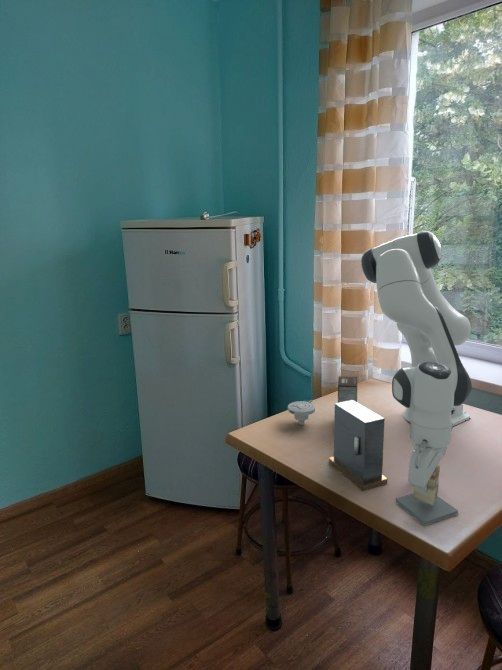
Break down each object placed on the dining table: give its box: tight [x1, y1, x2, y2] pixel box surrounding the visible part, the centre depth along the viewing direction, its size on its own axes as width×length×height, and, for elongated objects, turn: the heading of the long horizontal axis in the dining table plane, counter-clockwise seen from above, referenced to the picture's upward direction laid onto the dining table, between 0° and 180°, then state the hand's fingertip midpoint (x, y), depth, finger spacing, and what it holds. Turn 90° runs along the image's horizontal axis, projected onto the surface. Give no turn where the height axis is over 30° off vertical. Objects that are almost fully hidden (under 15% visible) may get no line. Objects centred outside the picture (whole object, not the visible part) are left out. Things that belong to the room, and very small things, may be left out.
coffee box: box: [337, 376, 358, 403], centre depth 156 cm, size 9×6×16 cm
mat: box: [395, 492, 459, 526], centre depth 111 cm, size 10×10×1 cm
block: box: [412, 464, 441, 505], centre depth 110 cm, size 5×5×8 cm
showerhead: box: [287, 399, 316, 425], centre depth 159 cm, size 9×7×10 cm
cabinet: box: [328, 400, 388, 492], centre depth 125 cm, size 8×16×18 cm, turn 23°
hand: (426, 485), depth 110 cm, fingers closed on block, 4 cm apart
